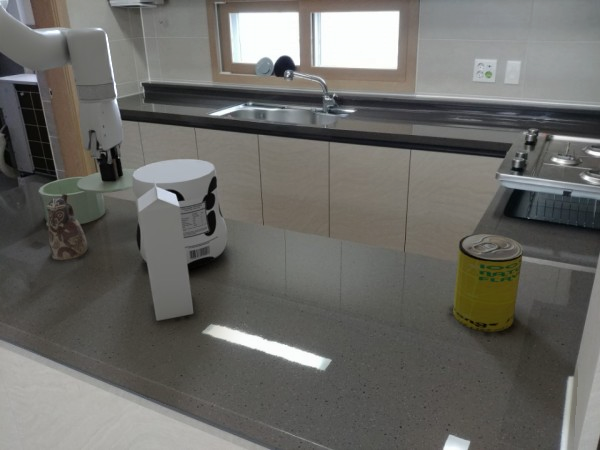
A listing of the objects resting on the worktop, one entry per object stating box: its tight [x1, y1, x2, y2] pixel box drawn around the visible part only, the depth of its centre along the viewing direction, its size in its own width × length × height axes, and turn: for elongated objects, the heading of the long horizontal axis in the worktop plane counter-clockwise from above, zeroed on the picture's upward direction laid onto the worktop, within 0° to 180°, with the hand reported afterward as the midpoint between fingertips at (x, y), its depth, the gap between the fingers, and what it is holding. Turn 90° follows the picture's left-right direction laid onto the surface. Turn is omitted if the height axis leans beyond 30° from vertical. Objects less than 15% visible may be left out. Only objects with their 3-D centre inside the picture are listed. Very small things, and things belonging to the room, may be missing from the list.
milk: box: [137, 178, 194, 322], centre depth 85 cm, size 6×6×22 cm
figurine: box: [45, 194, 88, 261], centre depth 108 cm, size 7×7×12 cm
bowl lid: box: [77, 157, 138, 194], centre depth 116 cm, size 15×15×6 cm
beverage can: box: [452, 233, 524, 333], centre depth 82 cm, size 9×9×12 cm
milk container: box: [132, 158, 228, 270], centre depth 103 cm, size 17×17×18 cm
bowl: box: [38, 176, 106, 225], centre depth 129 cm, size 14×14×8 cm
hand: (112, 177), depth 116 cm, fingers closed on bowl lid, 2 cm apart
